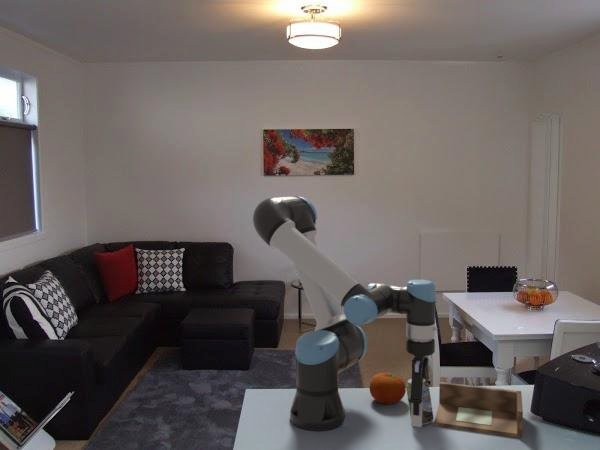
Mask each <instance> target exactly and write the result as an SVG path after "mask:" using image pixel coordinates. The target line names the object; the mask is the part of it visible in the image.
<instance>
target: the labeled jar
mask: <svg viewBox="0 0 600 450" xmlns="http://www.w3.org/2000/svg"><path fill="white" fill-rule="evenodd" d="M411 381H412V377H411V378H409V379H408V380H407V383H406V384H405V386H406V394H407V400H408V399H410V398H411ZM421 400H422V426H424V425H427V424H430V423H431V422H432V421H433V420H434V412H433V405H432V398H431V391H430V385H429V384H428V382H427V381H426V379H425V378H423V387H422V399H421ZM408 409H409V413H410V414H409V415H410V417H411V403H410V402H408Z"/></svg>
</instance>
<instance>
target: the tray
mask: <svg viewBox="0 0 600 450" xmlns="http://www.w3.org/2000/svg"><path fill="white" fill-rule="evenodd" d="M438 390H439V394H438V397H439V399H438V402H439V403H438V406H437V411H436V414H435V418H434V422H433V425H434V427H435V426H436V427H442V428H449V429H454V430H462V431H467V432H469V431H470V432H477V433H483V434H489V435H498V436H502V437H503V436H505V437H512V438H519V439H523V426H524V425H523V424H524V423H523V422H524V421H523V420H524V419H523V417H524V415H523V414H524V408H523V395H522V391H520V390H514V389H513V390H511V389H504V388H495V387H487V386H480V385H479V386H478V385H470V384H463V383H461V384H460V383H453V382H444V381H440V382H439V389H438Z"/></svg>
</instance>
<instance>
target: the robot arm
mask: <svg viewBox="0 0 600 450" xmlns="http://www.w3.org/2000/svg"><path fill="white" fill-rule="evenodd" d="M252 216H253V217H252V224H253V226H254V229H255V232H256V234H258V236H259V237H260V238H261V240H262V241H263V242H264V243H265V244H267V245H268V246H269V247H270V248H272V249H273V250H274V249H276V250H277V249H278V250H279V251H280V252H281V253H282V254H283V255H284V256H286V257H287V258H288V259H289V260H290V261H291V262H292V263H293V265H294V268H295V270H296V272H297V276H298V277H299V280H300V283H301V286H302V288H303V291H304V293H305V295H306V298H307V301H308V303H309V305H310V309H311V311H312V314H313V317H314V319H315V322H316V324H315V325H316V326H315V328H314V331H308V332H306V333H303V334H301V336H299V337H298V339H297V340H296V344H295V352H294V355H295V382H296V383H295V384H296V385H295V386H296V388H295V389H296V390H295V391H296V392H295V395H294V398H293V401H292V403H291V407H290V411H289V413H290V414H289V417H290V418H289V419H290V422H291V423H292V424H293V425H294V426H296V427H297V428H299V429H303V430H310V431H327V430H333V429H335V428H338V427H340V426H341V425H343V424H344V422H345V420H346V419H345V417H346V415H345V414H346V413H345V408H344V407H345V406H344V405H343V401H342V398H341V396H340V395H341V394H340V392H339V374H340V373H342V372H344V371H345V370H347V369H348V368H350V367H352V366H355V365H357V364H358V363H359V362H360V361H361V360H362V359H363V358H364V357H365V355H366V353H367V350H368V338H367V335H366V333H365V332H364V330H363V329H362V327H361V326H363V325H367V324H370V323H372V322H373V321H375V320H376V319H378V318H381V317H383V316H385V315H388V314H391V313H392V314H397V315H398V314H399V315H405V316H406V321H405V322H406V323H405V324H406V327H405V330H406V331H405V335H406V337H407V338H406V339H405V340H406V341H405V343H406V344H405V346H406V347H405V349H406V352H407V353H408V354H410V355H413V358H412V360H411V378H412V381H411V398H410V399H408V398H407V400H408V403H409V402H410V403H411V416H410V419H411V420H410V426H412V427H418V428H422V427H423V425H422V400H421V399H422V387H423V378H425V379H426V381H427V382H428V384H429V386H431V384H432V383H431V382H432V381H431V380H429V379H430V377H429V376H430V375H429V373H430V372H429V356H432V355H433V354H434V353H435V352H436V340H435V338H436V335H435V334H436V331H438V327H437V326H435V325H436V324H435V323H436V303H437V297H436V286H435V283H434V282H433V281H431V280H427V279H409V280H408V281H407V283H406V286H400V285H396V284H395V285H394V284H385V283H380V282H379V283H373V282H372V283H369V284H368V285H367V286H366V287H364V286H363V285H362V284H361V283H360V282H358V280H356V279H355V278H354V277H353V276H352V275H350V274H349V273H348V272H347V271H346V270H344V269H343V268H342V267H341V266H340V265H339V264H338V263H336V261H334V260H333V259H332V258H330V257H329V256H328V255H327V254H326V253H325V252H324V251H323V250H321V249H320V248H319V245H318V244H317V241H316V239H315V238H316V236H317V232H318V231H317V228H316V224H317V219H318V213H317V209H316V207H315V206H314V205H313V203H312V201H310V200H309V199H307V198H305V197H303V196H298V195H297V196H296V195H289V196H281V197H280V196H279V197H269V198H266V199H264V200H262V201H261V202H259V203H258V205H257V206H256V207H255V209H254V211H253V215H252ZM342 307H343V308H342Z"/></svg>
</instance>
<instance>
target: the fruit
mask: <svg viewBox="0 0 600 450" xmlns="http://www.w3.org/2000/svg"><path fill="white" fill-rule="evenodd" d="M369 392H370V396H371V397H372V398H373V399H374V400H375V401H377V402H378V403H381V404H386V405H387V404H388V405H391V404H392V405H393V404H395V403H398V402H400V401H401V400H402V399H403V398H404V396H405V395H406V393H407V389H406V383H405V381H404V379H402V377H400V376H399V375H397V374H395V373H393V372H380V373H377V374H375V375H373V377H372V378H371V380H370V382H369Z"/></svg>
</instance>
